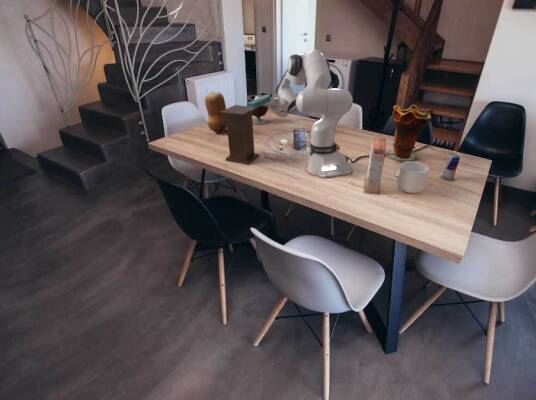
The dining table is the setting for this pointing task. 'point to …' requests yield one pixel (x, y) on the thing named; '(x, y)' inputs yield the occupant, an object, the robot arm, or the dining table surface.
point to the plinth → (240, 134)
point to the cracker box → (375, 165)
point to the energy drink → (450, 166)
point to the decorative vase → (407, 131)
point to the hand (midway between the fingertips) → (266, 97)
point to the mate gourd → (258, 112)
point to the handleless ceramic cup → (412, 176)
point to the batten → (259, 101)
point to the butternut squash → (216, 112)
